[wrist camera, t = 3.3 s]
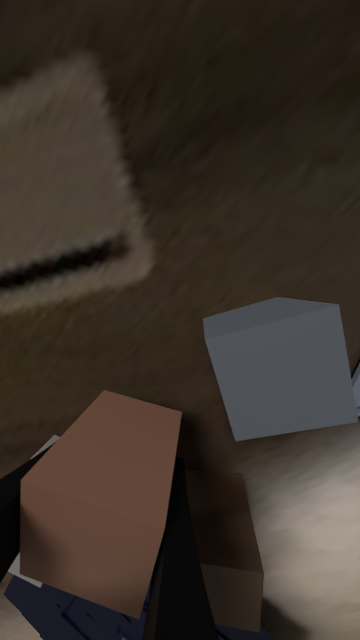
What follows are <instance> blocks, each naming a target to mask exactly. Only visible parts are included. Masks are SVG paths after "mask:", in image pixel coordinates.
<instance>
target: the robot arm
mask: <svg viewBox="0 0 360 640" xmlns="http://www.w3.org/2000/svg"><path fill="white" fill-rule="evenodd" d="M351 381H352V387H353V393H354V399H355V405H356V411H357V416H359V417H360V363H359V365H358V367H357V369H356V371H355V373H354V375H353V377H352V379H351ZM357 407H358V409H357ZM57 441H58V440H57ZM57 441H56V442H57ZM56 442H55V443H56ZM55 443H53V444H52V445H50V446H49V447H48V448H46V449H45V450H43V451H42V452H40V453H39V454H38V455H36V456H35V457H33V458H32V459H30V460H29V461H27V462H26V463H25V464H23V465H21V466H20V467H18V468H17V469H15V470H14V471H12V472H11V473H9V474H8V475H6V476H5V477H3V478H2V479H0V583H1V581H2V579H3V578H4V576H5V575H6V573H7V571H8V570H9V568H10V567H11V565H12V563H13V562H14V560H15V559H16V557H17V556H18V554H19V553H20V501H21V479H22V478H23V477H24V476H25V475H26V474H27V473H28V472H29V471H30V470H31V468H32V467H33V466H34V465H35V464H36V463H37V462H38V461H39V460H40V459H41V458H42V457H43V456H44V454H45V453H46V452H47V451H48V450H49V449H50V448H51V447H52V446H53V445H54V444H55ZM142 640H219V637H218V633H217V630H216V626H215V623H214V619H213V615H212V611H211V607H210V603H209V599H208V596H207V592H206V587H205V583H204V579H203V575H202V571H201V566H200V562H199V557H198V552H197V548H196V542H195V537H194V532H193V527H192V521H191V515H190V509H189V502H188V495H187V487H186V477H185V461H184V459H182V458H179V457H175V463H174V470H173V477H172V483H171V490H170V497H169V504H168V511H167V517H166V524H165V530H164V533H163V537H162V540H161V544H160V547H159V551H158V555H157V558H156V562H155V565H154V569H153V572H152V579H151V587H150V594H149V601H148V607H147V613H146V619H145V624H144V630H143V636H142Z"/></svg>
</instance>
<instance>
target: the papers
mask: <svg viewBox="0 0 360 640" xmlns="http://www.w3.org/2000/svg"><path fill="white" fill-rule="evenodd" d="M151 579H152V576H151ZM151 579H150V583H149V587H148V590H147V594H146V597H145V601H144V604H143V608H142V611H141V615H140V618H139V620H138V619H136V618H133V617H131V616H128V615H125V614H123V613H120V612H117V611H115V610H112V609H110V608H107V607H104V606H102V605H99V604H96V603H94V602H91V601H89V600H86V599H83V598H81V597H78V596H76V595H73V594H70V593H68V592H65V591H62V590H60V589H57V588H55V587H52V586H49V585H47V584H44V583H43V584H42V586H41V588H40V587H38V586H36V585H34V584H32V583H30V582H28V581H26V580H24V579H22V578H20V577H18V576H16V575H14V576H13V578H12V580H11V582H10V583H9V585H8V587H7V589H6V591H5V593H4V596H5V597H6V598H7V599H8V600H9V601H10V602H11V603H12V604H13V605H14V606H15V607H16V608H17V609H18V610H19V611H20V612H21V613H22V615H23V616H24V617H25V619H26V620H27V621H28V622H29V623H30V624H31V625H32V626H33V627H34V628H35V629H36V630H37V632H38V633H39V634H40V637H41V638H42V639H43V640H142V636H143V630H144V624H145V619H146V613H147V607H148V601H149V594H150V587H151ZM215 626H216V630H217V633H218V637H219V640H277V639H276V638H275V637H274V636H272V635H271V634H270V633H269V632H267V631H266V630H265V629H264V628H263V627H261V626H260V633H258V632H253V631H248V630H243V629H238V628H233V627H228V626H223V625H218V624H215Z"/></svg>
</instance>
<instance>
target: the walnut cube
mask: <svg viewBox="0 0 360 640" xmlns="http://www.w3.org/2000/svg"><path fill="white" fill-rule="evenodd" d="M185 477H186V487H187V495H188V502H189V509H190V515H191V521H192V527H193V532H194V537H195V542H196V548H197V552H198V557H199V562H200V566H201V571H202V575H203V579H204V583H205V587H206V592H207V596H208V599H209V603H210V607H211V611H212V615H213V619H214V623H215V624H218V625H223V626H228V627H233V628H238V629H243V630H248V631H253V632H258V633H260V619H261V605H262V592H263V578H264V572H263V567H262V563H261V558H260V554H259V550H258V545H257V541H256V536H255V532H254V527H253V523H252V518H251V514H250V509H249V505H248V500H247V496H246V492H245V487H244V483H243V478H242V474H240V473H228V472H217V471H205V470H194V469H185Z"/></svg>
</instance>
